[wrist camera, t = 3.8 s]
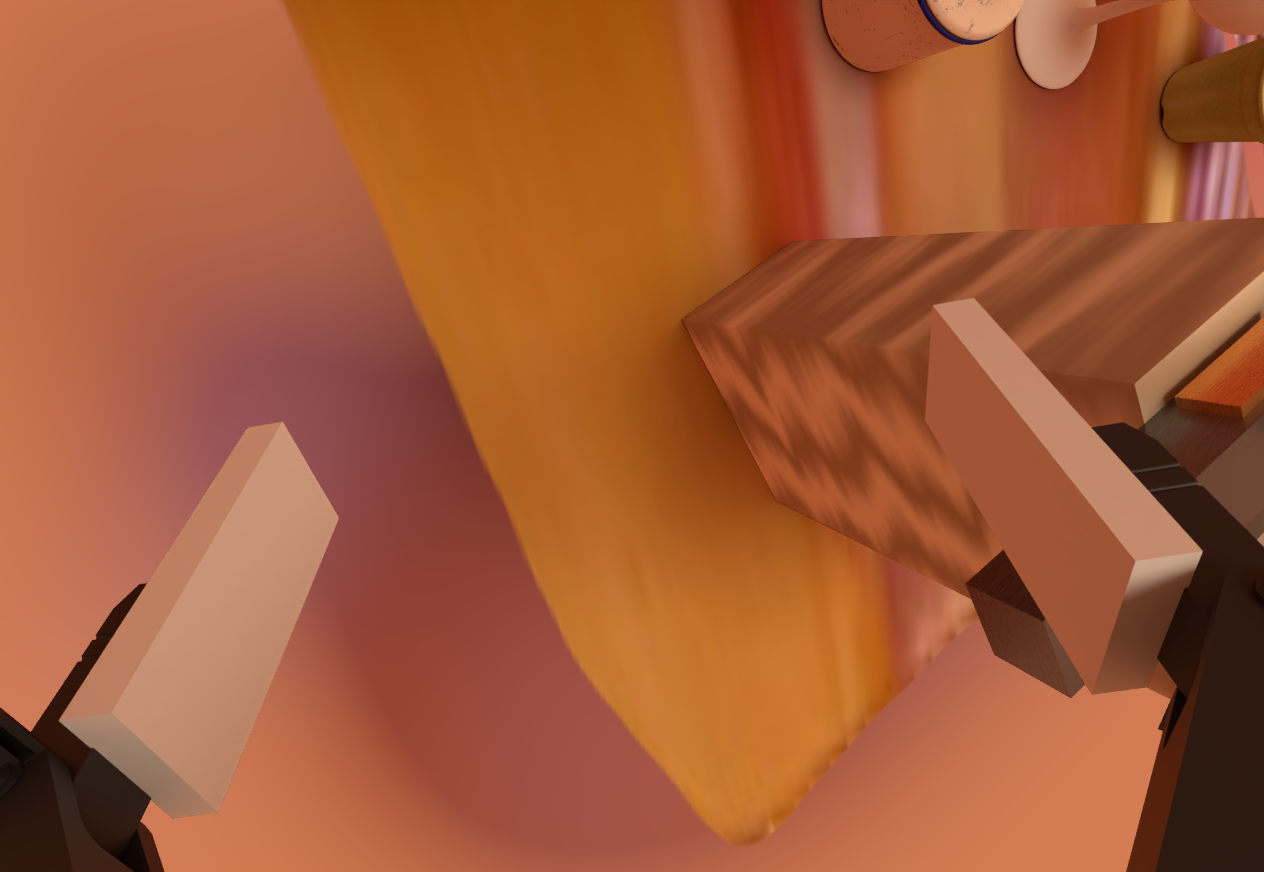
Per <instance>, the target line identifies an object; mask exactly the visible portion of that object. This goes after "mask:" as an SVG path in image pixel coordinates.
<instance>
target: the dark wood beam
mask: <svg viewBox="0 0 1264 872" xmlns="http://www.w3.org/2000/svg"><path fill="white" fill-rule="evenodd" d="M1138 430H1139V431H1141V432H1143V433H1145V434H1147V435H1149V436H1150V437H1152V438H1154V439H1156V440H1157V441H1158V442H1159V443H1160V444H1161V445H1162V446H1163V447H1164V448H1165V449H1166V450H1167V451H1168V452H1169V453H1170V454H1171V455H1172V456H1173V457H1174V458H1175V459H1176V460H1177V461H1178V462H1179V466H1180V467H1184V468H1185V469H1186V470H1187V471H1188V472H1189V473H1190V474H1191V475H1192V476H1193V477H1194V478H1195V479H1196V480H1197V481H1198V485H1199V486H1203V487H1204V488H1205V489H1206V490H1207V491H1208V492H1209V493H1210V494H1211V495H1212V496H1213V497H1214V498H1215V499H1216V500H1217V501H1218V502H1219V503H1220V504H1221V505H1222V506H1223V507H1224V508H1225V509H1226V510H1227V511H1228V512H1229V513H1230V514H1231V515H1232V516H1234V517H1235V518H1236V519H1237V520H1238V521H1239V522H1240V523H1241V524H1242V525H1243V526H1244V527H1246V526H1247V525H1248V524H1249V523H1250V522H1251V521H1252V520H1253V519H1254V518H1255V517H1256V516H1257V515H1258V514H1259V513H1260V512H1261V511H1262V510H1263V509H1264V317H1263V318H1262V319H1261V320H1260V321H1259V322H1258V323H1256V324H1255V325H1254V326H1253V327H1252V328H1251V329H1250V330H1249V331H1248V332H1246V333H1245V334H1244V335H1243V336H1242V337H1241V338H1240V339H1239V340H1237V341H1236V342H1235V343H1234V344H1233V345H1232V346H1231V347H1230V348H1228V349H1227V350H1226V351H1225V352H1224V353H1223V354H1222V355H1221V356H1219V357H1218V358H1217V359H1216V360H1215V361H1214V362H1213V363H1212V364H1211V365H1209V366H1208V367H1207V368H1206V369H1205V370H1204V371H1203V372H1202V373H1200V374H1199V375H1198V376H1197V377H1196V378H1195V379H1194V380H1193V381H1191V382H1190V383H1189V384H1188V385H1187V386H1186V387H1185V388H1184V389H1182V390H1181V391H1180V392H1179V393H1178V394H1177V395H1176V396H1175V397H1174V398H1173V399H1171V400H1170V401H1169V402H1168V403H1167V404H1166V405H1165V406H1164V407H1163V408H1161V409H1160V410H1159V411H1158V412H1157V413H1156V414H1155V415H1154V416H1152V417H1151V418H1150V419H1149V420H1148V421H1147V422H1146V423H1145V424H1143V425H1142V426H1141V427H1140V428H1139V429H1138ZM965 585H966V587H967V590H968V592H969V595H970V597H971V599H972V602H973V604H974V607H975V609H976V612H977V614H978V616H979V619H980V621H981V624H982V626H983V629H984V631H985V633H986V636H987V638H988V641H989V643H990V645H991V648H992V650H993V653H994V655H996V656H998V657H999V658H1001V659H1003V660H1005V661H1006V662H1008V663H1010V664H1012V665H1013V666H1015V667H1017V668H1019V669H1021V670H1022V671H1024V672H1026V673H1028V674H1029V675H1031V676H1033V677H1035V678H1036V679H1038V680H1040V681H1042V682H1043V683H1046V684H1047V685H1049V686H1050V687H1052V688H1054V689H1056V690H1058V691H1059V692H1061V693H1063V694H1065V695H1066V696H1068V697H1070V698H1072V697H1073V696H1074V695H1075V694H1076V693H1077V692H1078V691H1079V690H1080V689H1081V688H1082V687H1083V686H1084V685H1085V683H1084V681H1083V680H1082V678H1081V676H1080V675H1079V673H1078V671H1077V670H1076V668H1075V666H1074V665H1073V663H1072V661H1071V660H1070V658H1069V656H1068V655H1067V653H1066V652H1065V650H1064V648H1063V647H1062V645H1061V643H1060V642H1059V640H1058V638H1057V637H1056V635H1055V633H1054V632H1053V630H1052V629H1051V627H1050V625H1049V624H1048V622H1047V620H1046V619H1045V617H1044V615H1043V614H1042V612H1041V610H1040V609H1039V607H1038V605H1037V604H1036V602H1035V601H1034V599H1033V597H1032V596H1031V594H1030V592H1029V591H1028V589H1027V587H1026V586H1025V584H1024V582H1023V581H1022V579H1021V578H1020V576H1019V574H1018V573H1017V571H1016V569H1015V568H1014V566H1013V564H1012V563H1011V561H1010V559H1009V558H1008V556H1007V554H1006V553H1005V551H1004V550H1002V551H1001V552H1000V553H999V554H998V555H997V556H995V557H994V558H993V559H992V560H991V561H990V562H989V563H988V564H986V565H985V566H984V567H983V568H982V569H981V570H980V571H979V572H977V573H976V574H975V575H974V576H973V577H972V578H971V579H970V580H968V581H967V582H966V583H965Z"/></svg>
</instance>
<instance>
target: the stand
mask: <svg viewBox="0 0 1264 872" xmlns="http://www.w3.org/2000/svg"><path fill="white" fill-rule="evenodd" d="M970 298H974V299H975V300H976V301H977V302H978V303H979V304H980V305H981V306H982V308H983V309H984V310H985V311H986V312H987V313H988V314H989V315H990V316H991V318H992V319H993V320H994V321H995V322H996V323H997V324H998V325H999V326H1000V327H1001V329H1002V330H1003V331H1004V332H1005V333H1006V334H1007V335H1008V336H1009V337H1010V339H1011V340H1012V341H1013V342H1014V343H1015V344H1016V345H1017V346H1018V347H1019V348H1020V350H1021V351H1022V352H1023V353H1024V354H1025V355H1026V356H1027V357H1028V358H1029V360H1030V361H1031V362H1032V363H1033V364H1034V365H1035V366H1036V367H1037V368H1038V369H1039V371H1040V372H1041V373H1042V374H1043V375H1044V376H1045V377H1046V378H1047V379H1048V380H1049V382H1050V383H1051V384H1052V385H1053V386H1054V387H1055V388H1056V389H1057V390H1058V392H1059V393H1060V394H1061V395H1062V396H1063V397H1064V398H1065V399H1066V400H1067V401H1068V403H1069V404H1070V405H1071V406H1072V407H1073V408H1074V409H1075V410H1076V411H1077V413H1078V414H1079V415H1080V416H1081V417H1082V418H1083V419H1084V420H1085V421H1086V422H1087V424H1088V425H1089V426H1090V427H1097V426H1103V425H1109V424H1115V423H1121V422H1124V423H1126V424H1128V425H1129V426H1131V427H1133V428H1135V429H1137V430H1138V429H1139V428H1140V427H1141V426H1142V425H1143V424H1145V423H1146V422H1147V421H1148V420H1149V419H1150V418H1151V417H1152V416H1154V415H1155V414H1156V413H1157V412H1158V411H1159V410H1160V409H1161V408H1163V407H1164V406H1165V405H1166V404H1167V403H1168V402H1169V401H1170V400H1171V399H1173V398H1174V397H1175V396H1176V395H1177V394H1178V393H1179V392H1180V391H1181V390H1182V389H1184V388H1185V387H1186V386H1187V385H1188V384H1189V383H1190V382H1191V381H1193V380H1194V379H1195V378H1196V377H1197V376H1198V375H1199V374H1200V373H1202V372H1203V371H1204V370H1205V369H1206V368H1207V367H1208V366H1209V365H1211V364H1212V363H1213V362H1214V361H1215V360H1216V359H1217V358H1218V357H1219V356H1221V355H1222V354H1223V353H1224V352H1225V351H1226V350H1227V349H1228V348H1230V347H1231V346H1232V345H1233V344H1234V343H1235V342H1236V341H1237V340H1239V339H1240V338H1241V337H1242V336H1243V335H1244V334H1245V333H1246V332H1248V331H1249V330H1250V329H1251V328H1252V327H1253V326H1254V325H1255V324H1256V323H1258V322H1259V321H1260V320H1261V319H1262V318H1263V317H1264V218H1246V219H1226V220H1206V221H1186V222H1166V223H1146V224H1126V225H1106V226H1086V227H1067V228H1047V229H1027V230H1007V231H987V232H967V233H947V234H927V235H907V236H887V237H867V238H847V239H827V240H807V241H793V242H791V243H790V244H789V245H787V246H786V247H784V248H783V249H781V250H780V251H779V252H777V253H776V254H774V255H773V256H771V257H770V258H768V259H767V260H766V261H764V262H763V263H761V264H760V265H758V266H757V267H756V268H754V269H753V270H751V271H750V272H748V273H747V274H746V275H744V276H743V277H741V278H740V279H738V280H737V281H736V282H734V283H733V284H731V285H730V286H728V287H727V288H725V289H724V290H723V291H721V292H720V293H718V294H717V295H715V296H714V297H713V298H711V299H710V300H708V301H707V302H705V303H704V304H703V305H701V306H700V307H698V308H697V309H695V310H694V311H692V312H691V313H690V314H688V315H687V316H685V317H684V318H682V321H683V323H684V325H685V326H686V328H687V330H688V332H689V334H690V336H691V338H692V340H693V342H694V344H695V346H696V348H697V350H698V351H699V353H700V355H701V357H702V359H703V361H704V363H705V365H706V367H707V369H708V371H709V373H710V375H711V376H712V378H713V380H714V382H715V384H716V386H717V388H718V390H719V392H720V394H721V396H722V398H723V400H724V401H725V403H726V405H727V407H728V409H729V411H730V413H731V415H732V417H733V419H734V421H735V423H736V425H737V426H738V428H739V430H740V432H741V434H742V436H743V438H744V440H745V442H746V444H747V446H748V448H749V449H750V451H751V453H752V455H753V457H754V459H755V461H756V463H757V465H758V467H759V469H760V471H761V473H762V474H763V476H764V478H765V480H766V482H767V484H768V486H769V488H770V490H771V492H772V494H773V496H774V498H775V499H776V501H777V502H779V503H781V504H783V505H785V506H787V507H789V508H791V509H793V510H795V511H797V512H799V513H801V514H803V515H805V516H807V517H809V518H811V519H813V520H815V521H817V522H819V523H821V524H823V525H825V526H827V527H829V528H831V529H833V530H835V531H837V532H839V533H841V534H843V535H845V536H847V537H849V538H851V539H853V540H855V541H857V542H859V543H861V544H863V545H865V546H867V547H869V548H871V549H873V550H875V551H877V552H879V553H880V554H882V555H884V556H886V557H888V558H890V559H892V560H894V561H896V562H898V563H900V564H902V565H904V566H906V567H908V568H910V569H912V570H914V571H916V572H918V573H920V574H922V575H924V576H926V577H928V578H930V579H932V580H934V581H936V582H938V583H940V584H942V585H944V586H946V587H948V588H950V589H952V590H954V591H956V592H958V593H960V594H962V595H964V596H966V597H968V598H970V599H971V597H970V595H969V592H968V590H967V587H966V585H965V583H966V582H967V581H968V580H970V579H971V578H972V577H973V576H974V575H975V574H976V573H977V572H979V571H980V570H981V569H982V568H983V567H984V566H985V565H986V564H988V563H989V562H990V561H991V560H992V559H993V558H994V557H995V556H997V555H998V554H999V553H1000V552H1001V551H1002V550H1003V548H1002V546H1001V545H1000V543H999V541H998V540H997V538H996V536H995V535H994V533H993V531H992V530H991V528H990V526H989V525H988V523H987V522H986V520H985V518H984V517H983V515H982V513H981V512H980V510H979V508H978V507H977V505H976V503H975V502H974V500H973V499H972V497H971V495H970V494H969V492H968V490H967V489H966V487H965V485H964V484H963V482H962V480H961V479H960V477H959V475H958V474H957V472H956V471H955V469H954V467H953V466H952V464H951V462H950V461H949V459H948V457H947V456H946V454H945V452H944V451H943V449H942V448H941V446H940V444H939V443H938V441H937V439H936V438H935V436H934V434H933V433H932V431H931V429H930V428H929V426H928V424H927V423H926V421H925V412H926V397H927V383H928V368H929V353H930V338H931V323H932V308H933V305H937V304H942V303H948V302H953V301H959V300H965V299H970ZM1245 528H1246V529H1247V530H1248V531H1249V532H1250V533H1251V534H1252V535H1253V536H1254V537H1255V538H1256V539H1257V540H1258V541H1259V542H1260V543H1261V544H1262V545H1263V546H1264V509H1263V510H1262V511H1261V512H1260V513H1259V514H1258V515H1257V516H1256V517H1255V518H1254V519H1253V520H1252V521H1251V522H1250V523H1249V524H1248V525H1247V526H1246V527H1245ZM1176 687H1177V685H1176V684H1175V683H1174V681H1173V680H1172V679H1171V677H1170V676H1169V674H1168V673H1167V672H1166V670H1165V669H1164V667H1163V666H1162V665H1161V663H1160V662H1158V664H1157V667H1156V669H1155V672H1154V674H1153V676H1152V679H1151V681H1150V684H1149V686H1148V687H1147V688H1149V689H1151V690H1153V691H1155V692H1157V693H1159V694H1161V695H1163V696H1165V697H1167V698H1169V699H1171V698H1172V696H1173V694H1174V691H1175V689H1176Z"/></svg>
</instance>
